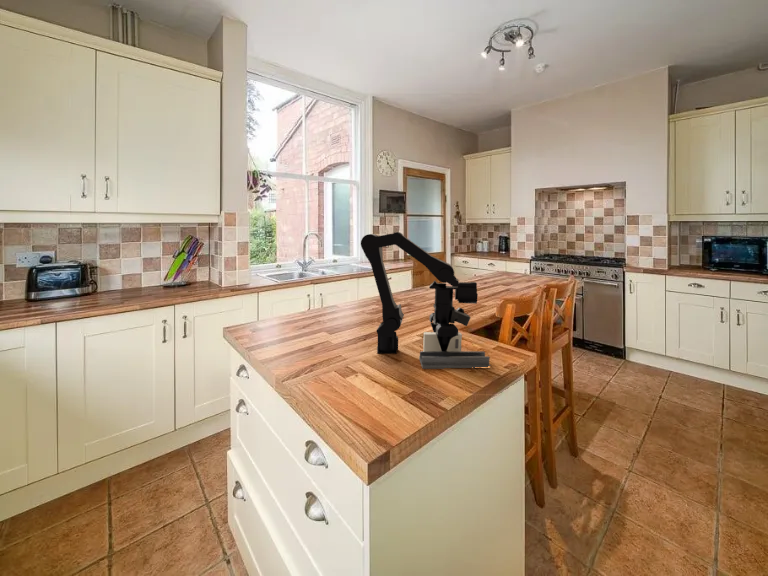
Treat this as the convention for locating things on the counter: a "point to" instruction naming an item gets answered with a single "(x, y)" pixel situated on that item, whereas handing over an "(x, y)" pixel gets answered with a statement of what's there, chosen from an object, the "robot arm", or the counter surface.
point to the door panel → (433, 344)
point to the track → (453, 359)
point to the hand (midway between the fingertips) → (441, 349)
